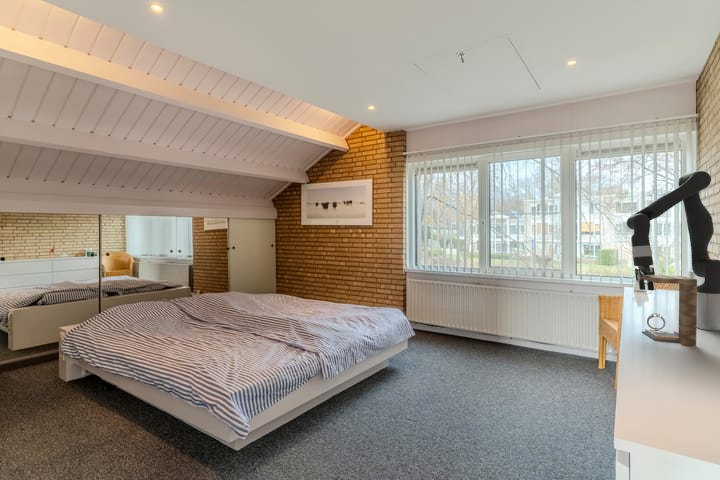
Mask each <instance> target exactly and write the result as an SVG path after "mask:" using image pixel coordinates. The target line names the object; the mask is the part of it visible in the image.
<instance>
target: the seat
mask: <svg viewBox="0 0 720 480" xmlns="http://www.w3.org/2000/svg"><path fill="white" fill-rule="evenodd" d="M641 333H642V334H644V335H645V336H646V337H648V338H650V339H651V340H652V341H657V342H658V341H659V342H661V341H662V342H672V343H679V342H678V333H679V331H677V330H674V331H673V332H660V331H651V330H650V329H648V328H647V329H645V331H644V330H643V331H641Z"/></svg>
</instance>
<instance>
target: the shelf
mask: <svg viewBox="0 0 720 480" xmlns="http://www.w3.org/2000/svg"><path fill="white" fill-rule="evenodd" d="M642 279H644V280H645V281H646V280H647V281H651V282H653V284H654V283H655V284H676V285H677V284H678V332H679V333H678V342H677V343H679V344H681V345H682V346H688V347H697V327H696V324H697V286H698V279H696V278H693V277H687V276H684V275H667V274H666V275H665V274H663V275H662V274H655V275H643V278H642ZM647 281H646V282H647Z"/></svg>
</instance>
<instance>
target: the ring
mask: <svg viewBox="0 0 720 480" xmlns="http://www.w3.org/2000/svg"><path fill="white" fill-rule="evenodd" d="M655 317H657V318H660V319H661V321H662V323H663V325H662V326H661V327H659V328H657V327H652V326H651V325H650V323H649V322H650V320H651V319H653V318H655ZM666 323H667V322H666V319H665V318H664V317H663V316H662V315H661V314H660V313H657V312H654V313H651V315H649V316H648V317H647V320H646V324H647V326H648V327H649V328H650V329H652V330H655V331H660V330H662V329H663V328H665V327H666Z"/></svg>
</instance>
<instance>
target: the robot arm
mask: <svg viewBox="0 0 720 480" xmlns="http://www.w3.org/2000/svg"><path fill="white" fill-rule="evenodd" d="M711 183H712V176H711V175H710V174H709V173H708V172H707V171H705V170H696V171H689V172H686V173H683V174H681V175H680V177H679V179H678V183H677V184H678V187H677V188H675V189H673V190H671V191H670V192H668V193H665V194H663V195H662V196H659V197H658V198H656V199H655V200H653V201H652V202H650V203H649V204H647V206H645V207H644V208H642V209H641V210H638V211H637V212H635V213H633V214H632V215H630V216H629V217H628V218H627V220H626V226H627V227H628V228H629V229H630V230H632V231H633V234H632V236H631V237H630V239H631V240H630V242H631V247H632V248H631V249H632V250H631V253H632V261H633V266H634V267H637V268H634V273H635V275H634V276H635V281H637V282H638V285H639V290H640V291H645V290H646V285H647V290H648V291H654V290H655V286H654V282H651V281H647V280H644V279H643V275H656V272H655V267H650V266H653V265H654V260H653V252H652V248H651V243H650V242H651V241H650V231H651V221H652V220H655V219H657V218H659V217H660V216H662V215H663V214H665V213H666V212H668V211H669V210H670V209H671V208H674V207H675V206H677V204H679V203H681V202H683V207H684V212H685V218H686V224H687V230H688V234H689V242H690V243H689V244H690V250H691V251H690V252H691V269H692V272H693V274H695V276H696V277H698V278H704V281H703V283H702V284H697V324H696V329H701V330H705V331H714V332H717V331H718V332H719V331H720V260H719V259H714V258H709V252H708V251H709V250H708V249H709V248H708V246H709V244H710V242H711V239H712V236H713V235H714V230H715V229H714V222H713V216H712V214H711V213H710V211H709V210H708V208H706V206H705V205H704V204H703V202H702V199H701V196H700V192H701V191H703V190H705V189H707V188H708V187H710V184H711ZM645 281H646V283H645Z"/></svg>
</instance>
